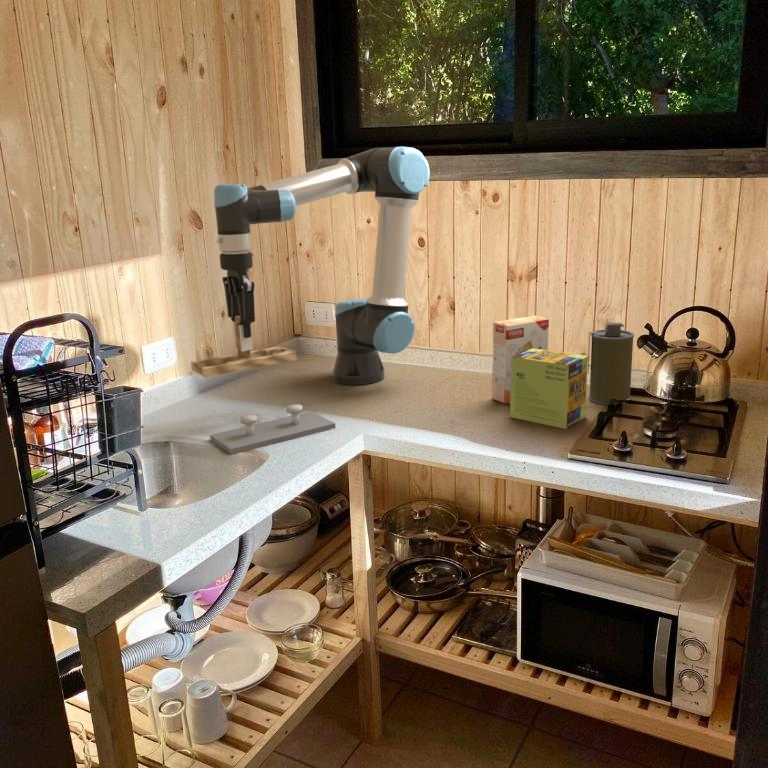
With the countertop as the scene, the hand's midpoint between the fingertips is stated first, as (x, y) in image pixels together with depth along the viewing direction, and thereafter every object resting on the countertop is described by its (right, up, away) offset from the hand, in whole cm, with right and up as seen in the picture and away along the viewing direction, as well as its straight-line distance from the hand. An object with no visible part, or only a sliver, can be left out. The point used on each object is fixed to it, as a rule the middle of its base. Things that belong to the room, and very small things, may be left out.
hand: (243, 348), depth 194 cm
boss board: (+8, -20, -4) cm, 22 cm away
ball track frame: (0, -4, +1) cm, 4 cm away
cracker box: (+70, -12, +16) cm, 73 cm away
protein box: (+74, -17, 0) cm, 76 cm away
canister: (+92, -13, +12) cm, 94 cm away
